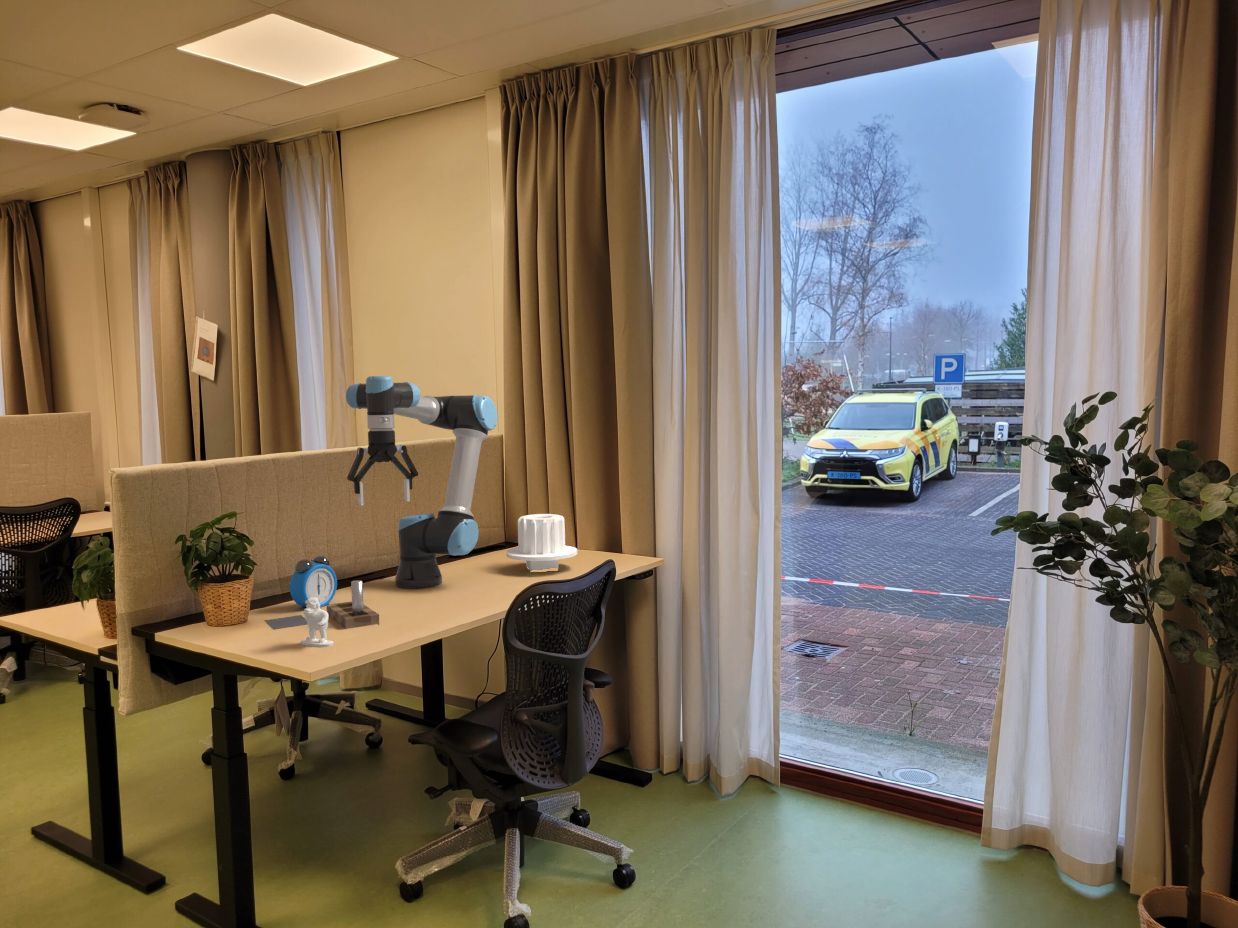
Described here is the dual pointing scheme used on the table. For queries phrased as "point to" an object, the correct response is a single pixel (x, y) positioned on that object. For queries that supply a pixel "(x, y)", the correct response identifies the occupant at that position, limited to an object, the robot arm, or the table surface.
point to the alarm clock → (313, 581)
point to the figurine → (316, 624)
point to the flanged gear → (541, 541)
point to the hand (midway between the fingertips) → (384, 503)
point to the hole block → (345, 617)
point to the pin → (357, 598)
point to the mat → (286, 622)
